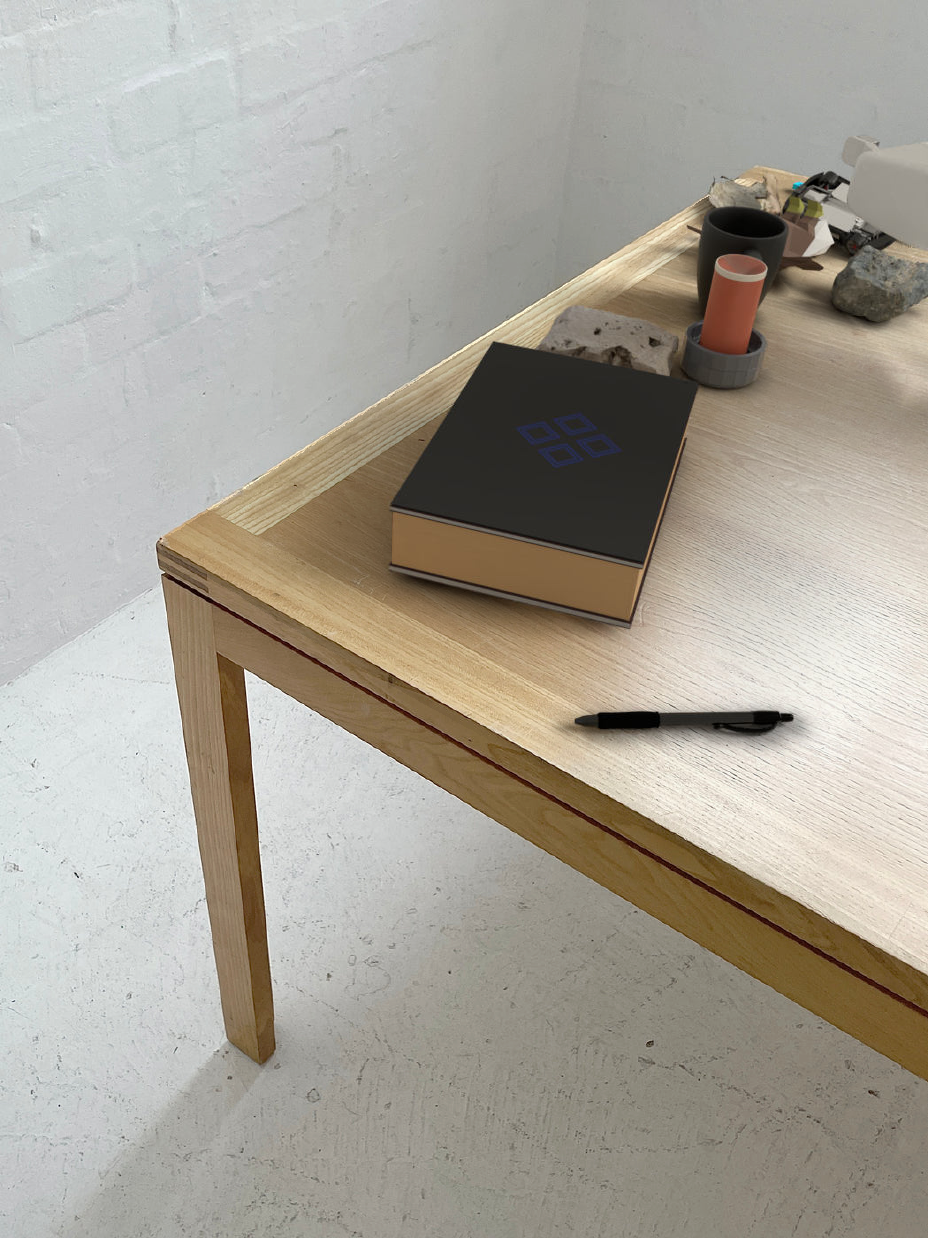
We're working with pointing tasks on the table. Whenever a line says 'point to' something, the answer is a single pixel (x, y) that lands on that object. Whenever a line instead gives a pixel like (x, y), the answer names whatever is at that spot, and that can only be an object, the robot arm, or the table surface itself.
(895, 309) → the rock
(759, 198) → the stone fragment
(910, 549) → the table surface
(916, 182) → the robot arm
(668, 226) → the table surface
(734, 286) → the canister
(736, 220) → the mug
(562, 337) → the stone
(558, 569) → the book
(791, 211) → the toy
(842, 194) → the toy car
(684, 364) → the bowl
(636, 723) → the pen
